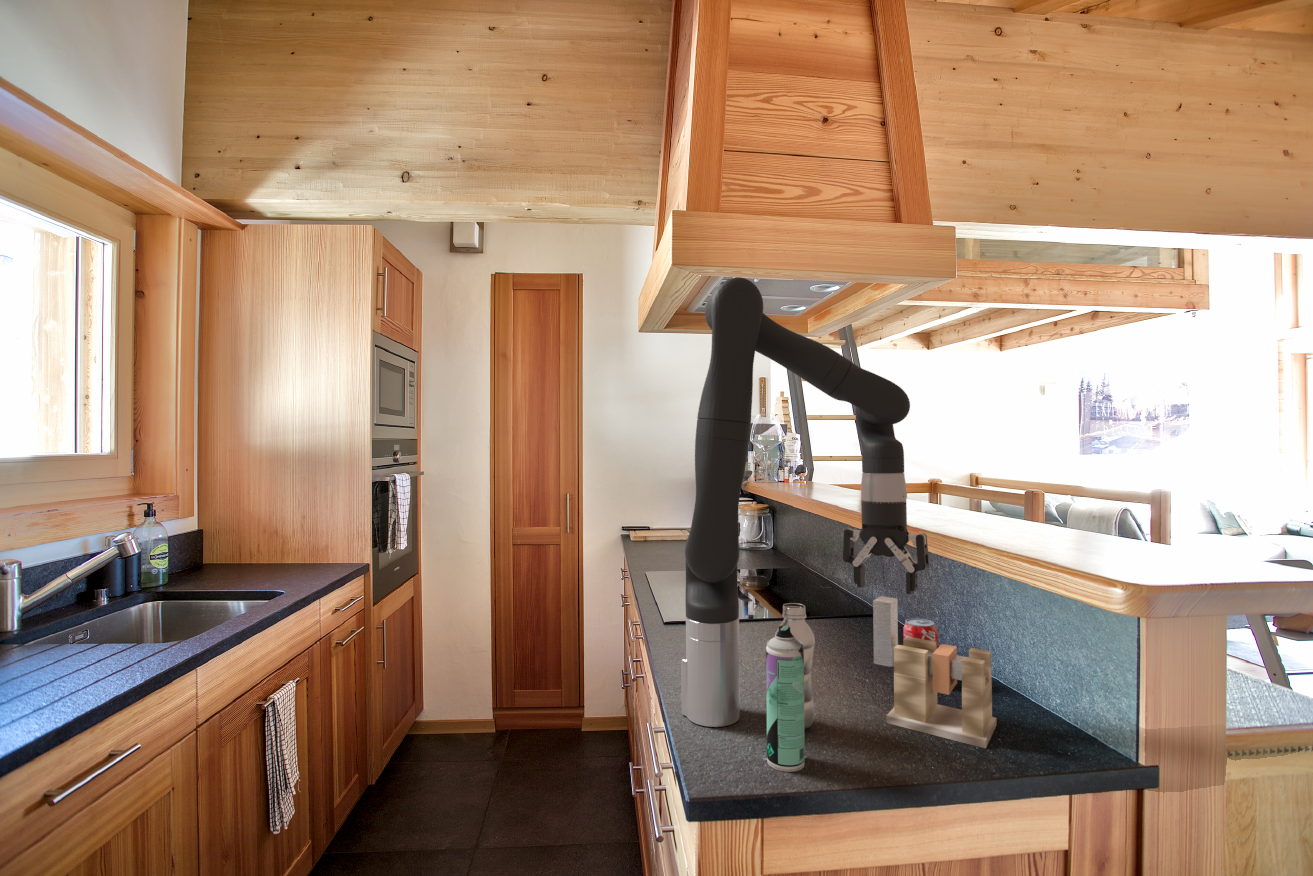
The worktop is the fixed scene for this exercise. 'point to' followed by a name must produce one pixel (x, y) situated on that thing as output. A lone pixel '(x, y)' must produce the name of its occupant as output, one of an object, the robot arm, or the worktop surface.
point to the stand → (920, 702)
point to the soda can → (921, 629)
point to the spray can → (785, 701)
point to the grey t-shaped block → (888, 637)
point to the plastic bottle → (802, 632)
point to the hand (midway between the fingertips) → (885, 590)
